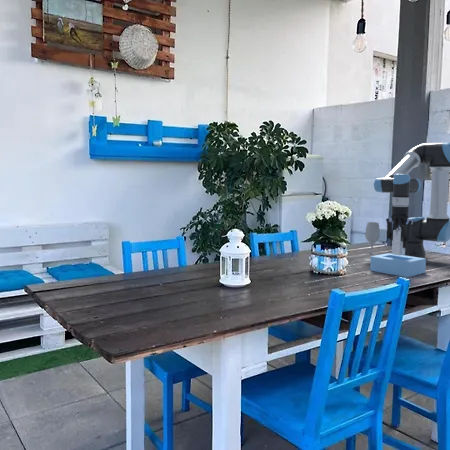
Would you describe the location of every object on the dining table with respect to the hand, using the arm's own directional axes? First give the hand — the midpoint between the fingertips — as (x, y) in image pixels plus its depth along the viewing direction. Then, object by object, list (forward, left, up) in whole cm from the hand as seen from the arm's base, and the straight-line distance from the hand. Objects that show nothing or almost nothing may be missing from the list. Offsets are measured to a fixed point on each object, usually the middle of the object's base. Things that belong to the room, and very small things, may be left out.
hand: (398, 253), depth 229 cm
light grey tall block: (0, 0, 0) cm, 0 cm away
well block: (0, 0, -9) cm, 9 cm away
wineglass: (-16, -25, -9) cm, 31 cm away
